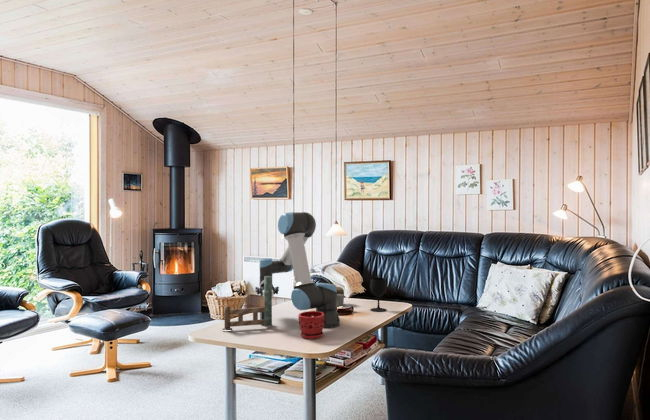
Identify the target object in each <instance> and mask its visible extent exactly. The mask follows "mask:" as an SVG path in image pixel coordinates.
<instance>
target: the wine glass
mask: <svg viewBox="0 0 650 420" xmlns="http://www.w3.org/2000/svg"><path fill="white" fill-rule="evenodd" d="M387 285H388V284H387V279H386V278H385V277H371V279H370V283H369V287H370V292H371V294H372V295H373V296H375V297H376V298H377V307H372V308H370V310H369V311H371V312H374V313H381V312H382V313H384V312H387V309H386V308H382V307H380V298H381V297H382V296H383V295H384V294H386V292H387V290H388V288H387V287H388V286H387Z"/></svg>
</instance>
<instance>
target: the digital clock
mask: <svg viewBox="0 0 650 420" xmlns="http://www.w3.org/2000/svg"><path fill="white" fill-rule="evenodd" d="M344 299H345V294H344V295H343V294H337V307H339V306H343V307H344Z"/></svg>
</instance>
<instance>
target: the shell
mask: <svg viewBox="0 0 650 420" xmlns="http://www.w3.org/2000/svg"><path fill="white" fill-rule="evenodd" d="M336 288H337V294H343V295H344V296H345V291H344V289H343V287H342V286H341V287H340V286H336Z"/></svg>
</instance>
